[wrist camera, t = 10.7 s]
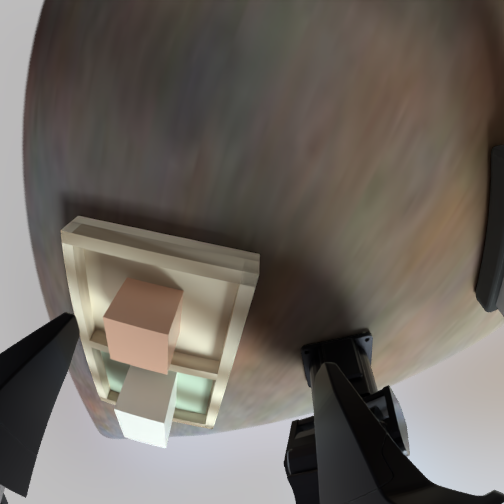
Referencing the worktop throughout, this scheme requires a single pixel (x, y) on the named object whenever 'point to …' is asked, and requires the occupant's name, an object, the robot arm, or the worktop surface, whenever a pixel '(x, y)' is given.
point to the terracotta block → (144, 325)
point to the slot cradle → (169, 275)
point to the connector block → (147, 405)
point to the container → (494, 241)
